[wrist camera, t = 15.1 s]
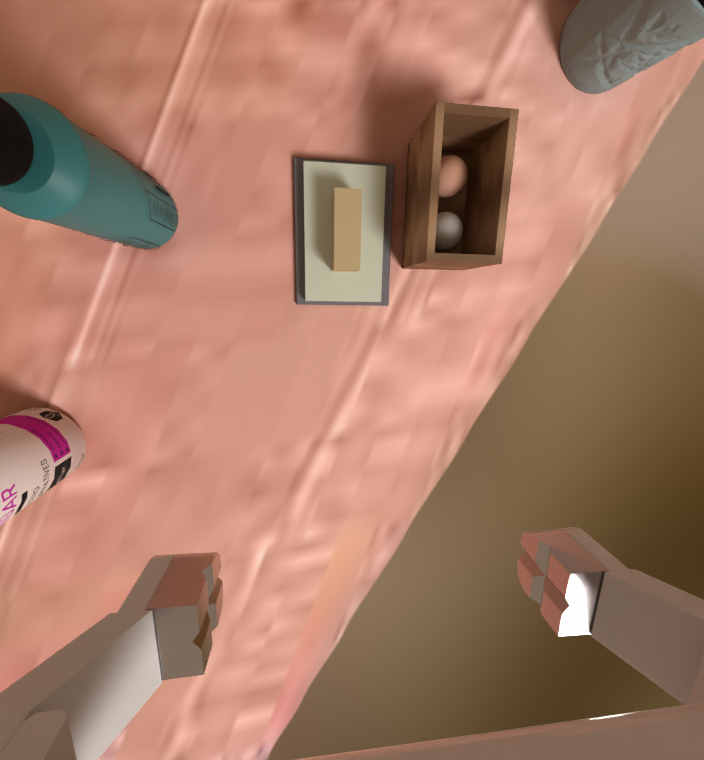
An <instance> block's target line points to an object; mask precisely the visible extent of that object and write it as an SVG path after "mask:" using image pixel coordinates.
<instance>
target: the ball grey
mask: <svg viewBox="0 0 704 760" xmlns="http://www.w3.org/2000/svg"><path fill="white" fill-rule="evenodd" d="M462 232H463V226H462V222H461V220H460V219H459V217H458V216H457V215H455V214H454V213H451V212H441V213H438V214H437V225H436V240H435V249H438V250H448V249H450V248H452V247H454V246H455V245H456V244H457V243H458V242H459V240H460V238H461V236H462Z"/></svg>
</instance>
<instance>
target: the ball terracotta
mask: <svg viewBox="0 0 704 760" xmlns="http://www.w3.org/2000/svg"><path fill="white" fill-rule="evenodd" d="M466 180H467V167H466V164H465V163H464V161H463V160H462V159H461V158H460V157H458V156H455V155H447V156H444V157H442V158H441V167H440V181H439V196H440V197H452V196H454V195H456V194H457V193H458V192H460V191H461V189H462V188H463V187H464V185H465V183H466Z"/></svg>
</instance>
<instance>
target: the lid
mask: <svg viewBox="0 0 704 760" xmlns="http://www.w3.org/2000/svg"><path fill="white" fill-rule="evenodd" d="M385 178H386V166H376V165H360V164H345V163H329V162H314V161H304V230H305V301H346V302H381V290H382V262H383V234H384V206H385Z"/></svg>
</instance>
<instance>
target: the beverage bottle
mask: <svg viewBox="0 0 704 760" xmlns="http://www.w3.org/2000/svg"><path fill="white" fill-rule="evenodd" d="M91 135H92V134H88V133H87V131H86V132H85V130H83V129H81V128H80V127H78V126H77V125H76V124H74V123H73V122H71V121H70V120H69V119H67V118H66V117H65V116H64V115H63V114H62V113H61V112H59V111H58V110H57V109H56V108H54V107H53V106H51V105H49V104H48V103H46V102H44V101H42V100H40V99H38V98H35V97H32V96H29V95H25V94H21V93H13V92H9V93H0V206H1V207H2V208H4V209H6V210H8V211H10V212H12V213H14V214H16V215H19V216H22V217H25V218H29V219H35V220H41V221H44V222H48V223H51V224H55V225H59V226H62V227H66V228H69V229H73V231H74V230H77V231H80V232H83V233H86V234H89V235H92V236H96V237H100V238H102V239H104V240H105V239H107V240H106V241H109V240H111V241H112V242H113V241H115V242H119V243H123V244H124V245H125V244H126V245H127V247H128V245H130V246H134V247H138V248H144V250H145V249H146V250H147V249H152V248H156V247H160V246H161V245H163V244H165V243H166V242H168V241H169V240H170V239H171V238H172V236H173V235H174V233H175V231H176V228H177V224H178V215H177V213H178V211H177V209H176V208H177V207H176V206H175V204H176V203H175V204H174V201H173V199H172V197H171V196H170V194H169V193H168V192H167V191H166V190H165V189H164V188H163V187H162V186H161V185H160V184H161V183H160V184H158V183H157V182H156V181H154V180H153V179H152V178H151V177H152V176H151V175H150V176H151V177H150V176H149V174H148V173H147V172H146V174H145V173H143V172H144V170H143V172H142V170H139V169H138V167H137V166H136V167H137V168H136V167H135V166H134V165H132V164H133V163H132V162H131V163H130V162H128V161H127V160H125V159H124V158H123V157H124V155H122V156H123V157H121V156H120V155H119V154H117V153H119V152H117V153H116V151H117V150H116V151H115V152H114V149H113V150H112V148H111V149H110V147H108V146H106V145H105V144H103V143H102V142H100V141H99V140H97V139H95V138H94V137H92V136H91ZM94 136H95V135H94ZM99 139H100V138H99ZM127 159H128V158H127ZM128 160H129V159H128ZM129 161H130V160H129ZM135 165H136V164H135ZM147 174H148V176H147ZM154 179H155V178H154ZM162 185H163V184H162ZM166 189H167V188H166ZM82 235H83V234H82ZM89 235H88V236H89ZM102 239H101V240H102ZM115 242H114V243H115ZM156 249H157V248H156ZM139 250H140V249H139ZM152 250H153V249H152Z"/></svg>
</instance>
